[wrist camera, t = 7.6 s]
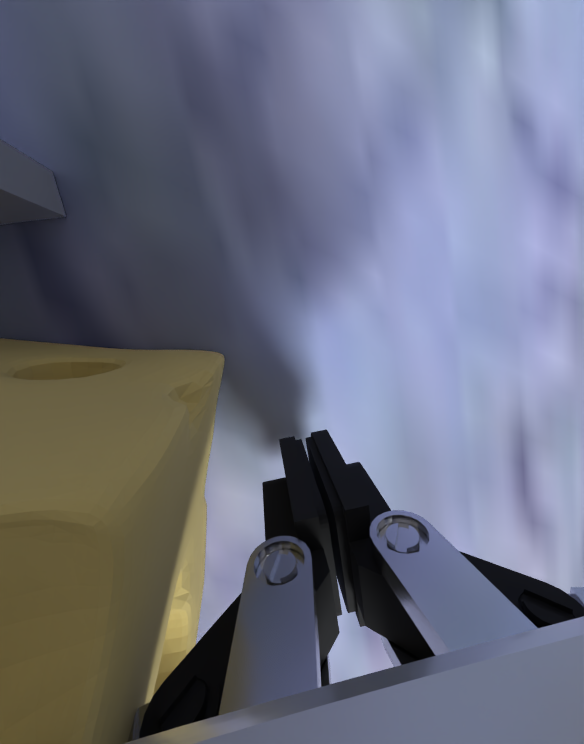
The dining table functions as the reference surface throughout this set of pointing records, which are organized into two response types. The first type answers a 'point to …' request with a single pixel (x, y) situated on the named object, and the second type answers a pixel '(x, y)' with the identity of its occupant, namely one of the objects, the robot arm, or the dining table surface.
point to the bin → (26, 189)
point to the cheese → (98, 531)
